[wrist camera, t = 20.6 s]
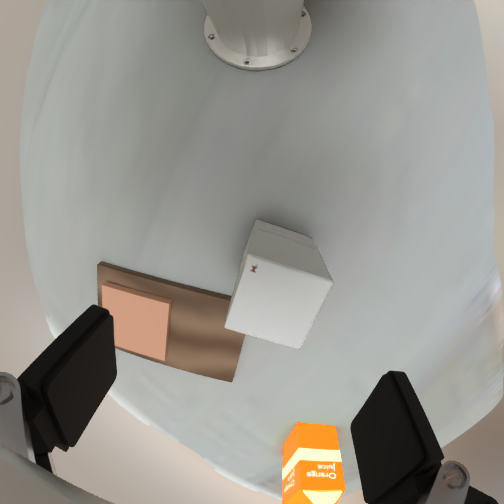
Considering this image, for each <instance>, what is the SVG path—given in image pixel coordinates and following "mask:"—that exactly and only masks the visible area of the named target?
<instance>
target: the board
mask: <svg viewBox="0 0 504 504" xmlns="http://www.w3.org/2000/svg"><path fill="white" fill-rule="evenodd" d="M105 282H110V283H113V284H116V285H120V286H123V287H127V288H130V289H134V290H137V291H141V292H145V293H148V294H152V295H156V296H159V297H163V298H167V299H171V300H172V304H171V314H170V324H169V336H168V349H167V357H166V359H165V361H163V360H160V359H156V358H153V357H149V356H146V355H143V354H139V353H136V352H133V351H130V350H127V349H124V348H121V347H118V346H115V348H116V349H119V350H122V351H125V352H127V353H130V354H133V355H136V356H139V357H142V358H145V359H148V360H151V361H154V362H157V363H160V364H164V365H167V366H170V367H174V368H177V369H181V370H184V371H188V372H191V373H195V374H199V375H203V376H207V377H211V378H215V379H219V380H223V381H228V382H232V380H233V377H234V373H235V369H236V366H237V362H238V358H239V354H240V351H241V347H242V343H243V339H244V335H245V334H243V333H240V332H236V331H233V330H230V329H226V328H225V327H224V326H225V321H226V317H227V313H228V309H229V305H230V301H231V297H232V296H227V295H223V294H219V293H215V292H211V291H207V290H203V289H199V288H195V287H191V286H187V285H183V284H180V283H176V282H172V281H168V280H165V279H161V278H157V277H154V276H150V275H146V274H143V273H139V272H136V271H132V270H129V269H125V268H122V267H118V266H115V265H112V264H108V263H105V262H100V263H99V264H97V285H98V306H100V307H102V284H103V283H105Z"/></svg>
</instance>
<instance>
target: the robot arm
mask: <svg viewBox="0 0 504 504" xmlns="http://www.w3.org/2000/svg"><path fill="white" fill-rule="evenodd" d="M201 2H202V4H203V6H204V8H205V9H206V11H207V13H208V14H207V16H206V18H205V23H204V35H205V39H206V42H207V44H208V45H209V47H210V49H211V50H212V51H213V53H214V54H215V55H216V56H217V57H218V58H220V59H221V60H222V61H224V62H226V63H227V64H229V65H232V66H234V67H237V68H241V69H246V70H258V71H259V70H270V69H273V68H277V67H281V66H283V65H285V64H288V63H289V62H291V61H292V60H294V59H296V58H297V57H298V56H299V55H300V54H301V53H302V52H303V51H304V49H305V48H306V46H307V45H308V42H309V40H310V37H311V32H312V22H311V19H310V15H309V13H308V12H307V10H306V8H305V7H304V6H303V4H304V0H201ZM302 16H303V17H302ZM212 38H215V39H213V40H211V39H212ZM291 51H295V53H293V52H291ZM246 62H249V64H248V65H246V64H245V63H246ZM116 376H117V367H116V355H115V340H114V319H113V316H112V315H110V312H109V310H108V309H106V308H103V307H100V306H97V305H91V306H90V307H89V308H88V309H87V310H86V311H85V312H84V313H83V314H81V315H80V316H79V317H78V318H77V319H76V320H75V321H74V322H73V323H72V324H71V325H70V326H69V327H68V328H67V329H66V330H65V331H64V332H63V333H62V334H61V335H59V336H58V337H57V338H56V339H55V340H54V341H53V342H52V343H51V344H50V345H49V346H48V347H47V348H46V349H45V350H44V351H43V352H42V353H41V354H40V355H39V356H38V358H37V359H36V360H35V361H34V362H33V363H32V364H31V365H30V366H29V367H28V368H27V369H26V370H25V371H24V372H23V373H22V374H21V375H20V376H19V377H18V379H16V378H15V377H14V376H13V375H11V374H9V373H6V372H0V504H114V503H111V502H109V501H107V500H104V499H102V498H100V497H98V496H95V495H93V494H91V493H89V492H87V491H85V490H83V489H81V488H78V487H77V486H74V485H73V484H70V483H69V482H67V481H65V480H63V479H61V478H59V477H58V476H57V474H56V470H55V467H54V463H53V459H52V455H51V452H52V450H53V449H54V447H55V446H56V447H58V448H60V449H62V450H63V451H65V452H67V450H68V448H69V447H74V446H75V445H76V443H77V442H78V440H79V438H80V436H81V435H82V433H83V431H84V430H85V428H86V426H87V425H88V423H89V421H90V420H91V418H92V416H93V415H94V413H95V412H96V410H97V408H98V407H99V405H100V403H101V402H102V400H103V398H104V397H105V395H106V394H107V392H108V391H109V389H110V387H111V386H112V384H113V383H114V381H115V379H116ZM351 434H352V439H353V444H354V449H355V454H356V459H357V464H358V469H359V474H360V479H361V485H362V490H363V496H364V500H365V502H366V503H368V504H498V503H497V501H496V500H495V499H494V498H492V497H490V496H488V495H486V494H484V493H483V492H481V491H478V490H477V489H475V488H473V487H471V486H469V484H470V475H469V472H468V470H467V469H466V468H465V466H464V465H462V464H461V463H460V462H457V461H447V462H445V463H444V464H441V460H443V459H444V455H443V453H442V451H441V448H440V446H439V443H438V441H437V439H436V436H435V434H434V432H433V430H432V427H431V425H430V423H429V421H428V419H427V416H426V414H425V412H424V410H423V408H422V406H421V404H420V402H419V399H418V397H417V395H416V393H415V391H414V389H413V387H412V385H411V383H410V381H409V379H408V377H407V375H406V374H405V372H401V371H389V372H387V373H386V374H384V375H383V376H382V377H381V379H380V380H379V382H378V384H377V385H376V387H375V388H374V390H373V391H372V393H371V395H370V396H369V398H368V399H367V401H366V402H365V404H364V405H363V407H362V408H361V410H360V411H359V412H358V414H357V415H356V417H355V418H354V420H353V421H352V423H351Z"/></svg>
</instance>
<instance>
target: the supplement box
mask: <svg viewBox="0 0 504 504" xmlns="http://www.w3.org/2000/svg"><path fill="white" fill-rule="evenodd" d="M333 283H334V282H333V280H332V278H331V276H330V274H329V272H328V270H327V268H326V266H325V264H324V262H323V259H322V257H321V255H320V253H319V251H318V249H317V247H316V245H315V243H314V242H313V240H312V238H310V237H307V236H305V235H302V234H299V233H296V232H294V231H291V230H288V229H285V228H282V227H279V226H276V225H273V224H270V223H267V222H264V221H261V220H258V219H256V221H255V223H254V226H253V229H252V232H251V234H250V237H249V240H248V243H247V245H246V248H245V251H244V254H243V257H242V261H241V264H240V268H239V271H238V275H237V279H236V283H235V286H234V290H233V294H232V297H231V301H230V305H229V309H228V313H227V317H226V321H225V326H224V327H225V328H226V329H230V330H233V331H236V332H240V333H243V334H246V335H250V336H253V337H256V338H260V339H263V340H267V341H270V342H274V343H278V344H281V345H285V346H288V347H292V348H296V349H300V348H301V346H302V344H303V342H304V340H305V338H306V336H307V334H308V332H309V330H310V328H311V326H312V325H313V323H314V321H315V319H316V317H317V315H318V313H319V311H320V309H321V307H322V305H323V304H324V302H325V300H326V298H327V296H328V294H329V292H330V290H331V288H332V286H333Z"/></svg>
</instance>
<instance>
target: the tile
mask: <svg viewBox="0 0 504 504" xmlns="http://www.w3.org/2000/svg"><path fill="white" fill-rule="evenodd" d="M171 304H172V300H171V299H167V298H163V297H159V296H156V295H152V294H148V293H145V292H141V291H137V290H134V289H130V288H127V287H123V286H120V285H116V284H113V283H110V282H105V283H103V284H102V307H103V308H106V309H108V310H109V312H110V315H112V316H113V319H114V340H115V346H118V347H121V348H124V349H127V350H130V351H133V352H136V353H139V354H143V355H146V356H149V357H153V358H156V359H160V360H163V361H165V359H166V357H167V349H168V336H169V324H170V314H171Z"/></svg>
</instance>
